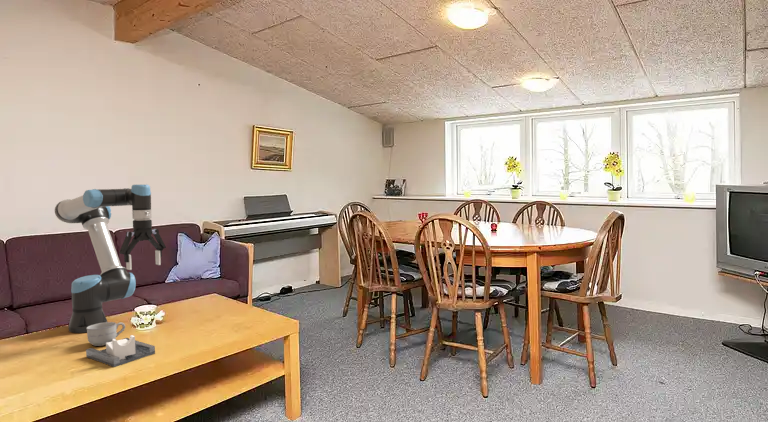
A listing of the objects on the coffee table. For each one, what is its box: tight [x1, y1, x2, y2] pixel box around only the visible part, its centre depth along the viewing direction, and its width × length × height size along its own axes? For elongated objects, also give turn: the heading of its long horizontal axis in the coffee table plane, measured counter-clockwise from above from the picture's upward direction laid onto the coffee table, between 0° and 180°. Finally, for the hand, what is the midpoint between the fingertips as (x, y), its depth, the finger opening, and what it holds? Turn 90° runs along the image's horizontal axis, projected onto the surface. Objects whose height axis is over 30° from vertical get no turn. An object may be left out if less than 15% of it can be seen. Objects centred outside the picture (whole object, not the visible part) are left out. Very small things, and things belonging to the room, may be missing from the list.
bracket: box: [105, 334, 136, 360], centre depth 188 cm, size 13×7×8 cm, turn 41°
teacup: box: [86, 321, 126, 347], centre depth 204 cm, size 14×11×8 cm
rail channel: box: [85, 337, 156, 368], centre depth 190 cm, size 19×16×3 cm
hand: (144, 267), depth 219 cm, fingers open, 13 cm apart
